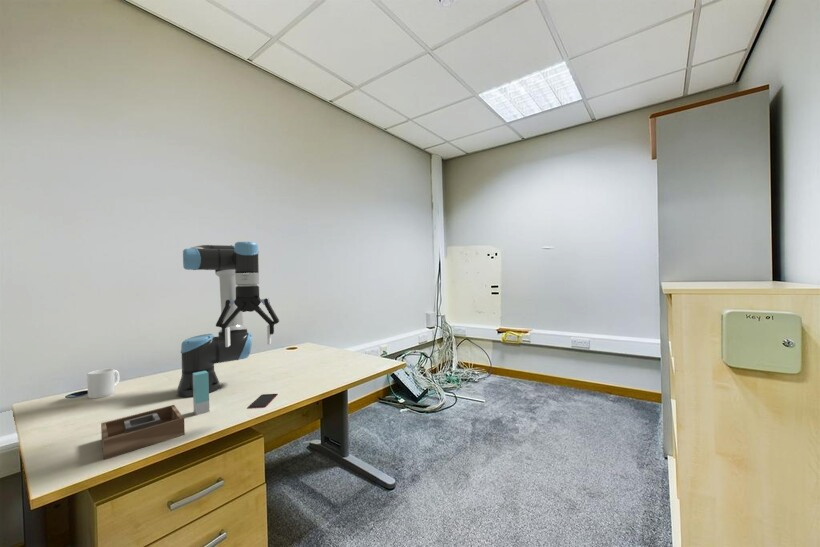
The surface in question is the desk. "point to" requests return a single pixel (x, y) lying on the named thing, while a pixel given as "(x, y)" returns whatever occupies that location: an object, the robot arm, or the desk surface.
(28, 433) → the desk surface
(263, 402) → the smartphone
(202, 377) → the connector plug
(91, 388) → the cup
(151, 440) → the connector box
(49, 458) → the desk surface
